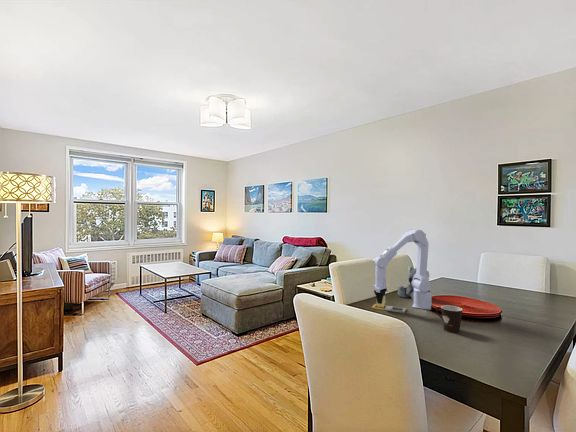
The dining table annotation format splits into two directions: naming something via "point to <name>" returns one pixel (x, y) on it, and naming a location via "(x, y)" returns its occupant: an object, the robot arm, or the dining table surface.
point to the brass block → (382, 303)
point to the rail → (390, 308)
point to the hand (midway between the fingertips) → (380, 302)
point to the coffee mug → (451, 318)
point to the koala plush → (410, 289)
